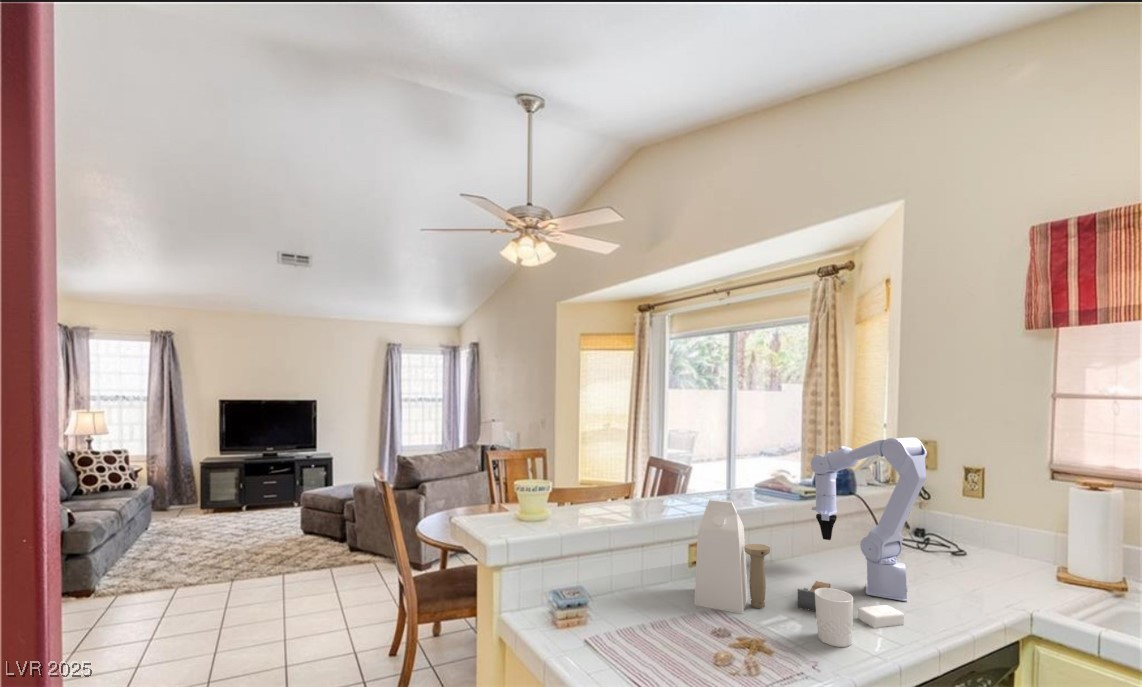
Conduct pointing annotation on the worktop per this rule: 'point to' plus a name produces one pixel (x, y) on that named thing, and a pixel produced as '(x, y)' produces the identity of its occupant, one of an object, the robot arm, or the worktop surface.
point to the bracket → (806, 599)
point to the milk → (721, 559)
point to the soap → (881, 616)
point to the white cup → (834, 616)
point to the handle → (757, 573)
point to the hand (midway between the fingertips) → (826, 539)
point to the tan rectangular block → (819, 585)
